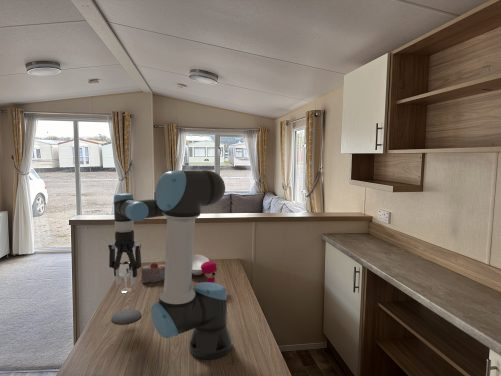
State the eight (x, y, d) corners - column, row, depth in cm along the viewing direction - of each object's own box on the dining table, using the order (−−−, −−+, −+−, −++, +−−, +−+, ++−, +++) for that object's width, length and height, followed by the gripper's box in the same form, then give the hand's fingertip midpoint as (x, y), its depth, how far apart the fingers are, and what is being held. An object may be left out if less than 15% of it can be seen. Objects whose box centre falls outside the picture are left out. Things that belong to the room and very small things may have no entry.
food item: (165, 276, 193) (165, 260, 192) (167, 281, 185) (167, 264, 185) (141, 279, 188) (140, 262, 187) (142, 284, 180) (141, 267, 180)
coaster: (133, 324, 137) (133, 323, 137) (105, 323, 138) (105, 321, 138) (145, 311, 149) (145, 310, 149) (120, 310, 150) (120, 308, 150)
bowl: (183, 264, 215) (183, 255, 215) (206, 263, 219) (206, 254, 218) (185, 281, 186) (185, 270, 186) (212, 279, 190) (212, 268, 189)
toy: (214, 293, 169) (214, 264, 168) (198, 292, 171) (198, 263, 169) (219, 287, 177) (219, 259, 176) (204, 286, 179) (204, 258, 178)
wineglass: (128, 286, 146) (127, 259, 145) (135, 290, 143) (135, 262, 142) (116, 290, 142) (115, 263, 141) (123, 294, 138) (122, 265, 137)
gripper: (149, 229, 143) (150, 281, 145) (108, 227, 145) (109, 279, 147) (141, 232, 135) (143, 288, 137) (98, 231, 137) (100, 286, 139)
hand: (125, 283), depth 142 cm, fingers closed on wineglass, 6 cm apart
